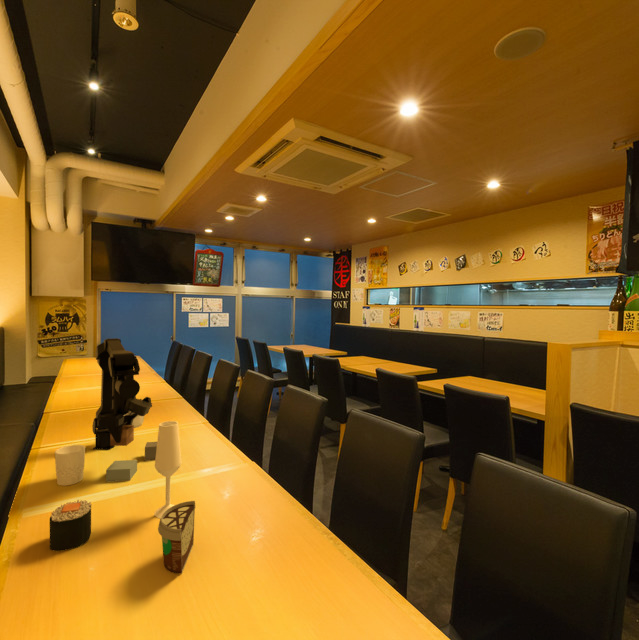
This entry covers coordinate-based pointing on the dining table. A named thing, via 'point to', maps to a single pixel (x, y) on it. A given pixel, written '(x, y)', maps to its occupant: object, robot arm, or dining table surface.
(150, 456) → the brown block
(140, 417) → the ramekin
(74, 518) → the sushi
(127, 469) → the base block
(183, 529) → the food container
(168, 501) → the champagne flute
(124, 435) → the walnut block
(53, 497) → the dining table surface
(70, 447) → the white cup
